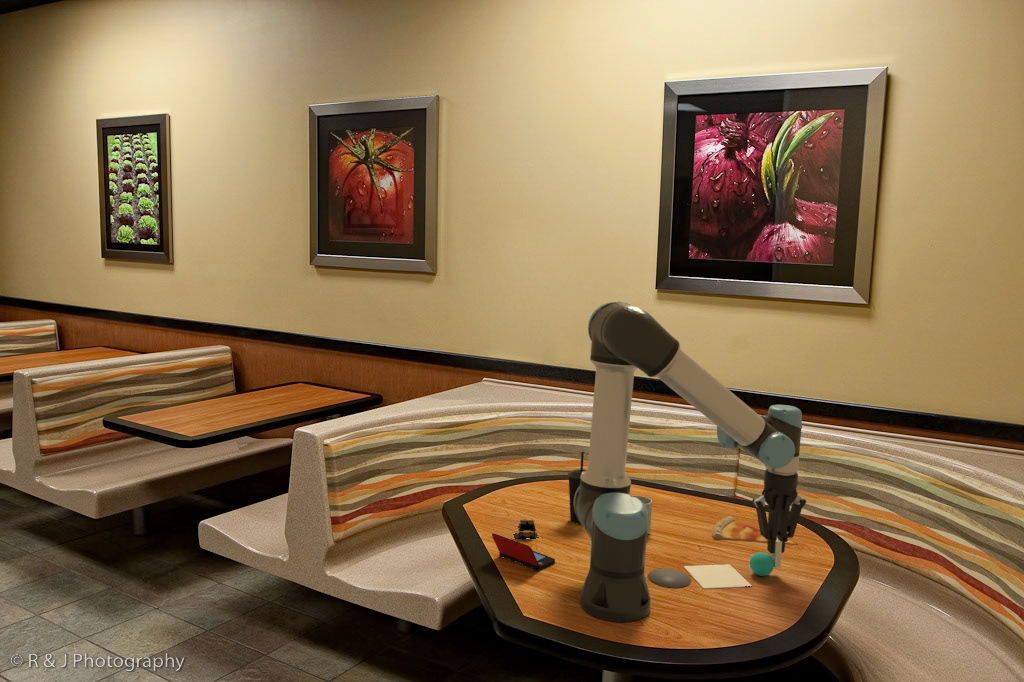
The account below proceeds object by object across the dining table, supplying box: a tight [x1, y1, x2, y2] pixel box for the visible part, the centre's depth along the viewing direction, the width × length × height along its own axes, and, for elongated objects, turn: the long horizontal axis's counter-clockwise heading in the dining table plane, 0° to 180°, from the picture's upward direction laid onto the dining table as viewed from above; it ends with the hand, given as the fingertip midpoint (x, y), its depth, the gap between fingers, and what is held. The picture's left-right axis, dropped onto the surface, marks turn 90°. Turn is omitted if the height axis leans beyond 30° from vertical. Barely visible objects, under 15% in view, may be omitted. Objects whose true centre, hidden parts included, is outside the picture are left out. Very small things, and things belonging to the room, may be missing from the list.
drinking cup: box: [567, 451, 587, 525], centre depth 217 cm, size 8×8×20 cm
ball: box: [749, 551, 775, 577], centre depth 187 cm, size 6×6×6 cm
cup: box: [631, 495, 653, 535], centre depth 210 cm, size 7×10×9 cm
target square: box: [683, 563, 753, 590], centre depth 185 cm, size 12×12×1 cm
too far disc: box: [647, 568, 692, 589], centre depth 183 cm, size 10×10×1 cm
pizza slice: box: [711, 515, 796, 543], centre depth 210 cm, size 16×22×2 cm
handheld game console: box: [491, 533, 556, 572], centre depth 189 cm, size 12×11×7 cm
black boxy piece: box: [513, 519, 539, 539], centre depth 206 cm, size 12×7×5 cm, turn 94°
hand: (774, 565), depth 187 cm, fingers closed
